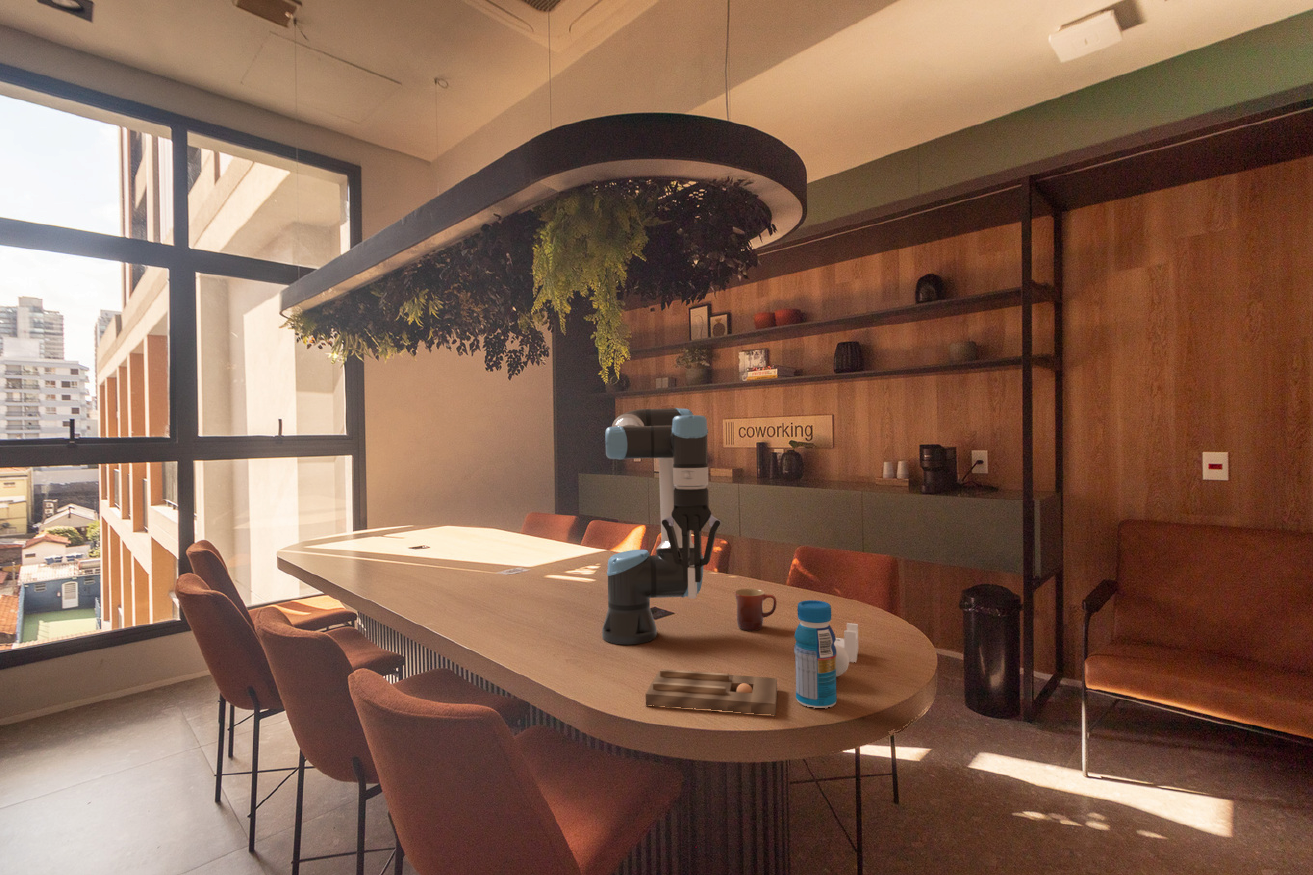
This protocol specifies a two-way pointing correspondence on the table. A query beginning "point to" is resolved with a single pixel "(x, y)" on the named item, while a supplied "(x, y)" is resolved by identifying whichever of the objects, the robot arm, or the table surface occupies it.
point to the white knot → (841, 660)
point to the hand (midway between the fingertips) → (692, 596)
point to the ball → (744, 688)
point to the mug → (752, 608)
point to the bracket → (850, 641)
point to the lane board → (712, 692)
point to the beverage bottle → (815, 655)
